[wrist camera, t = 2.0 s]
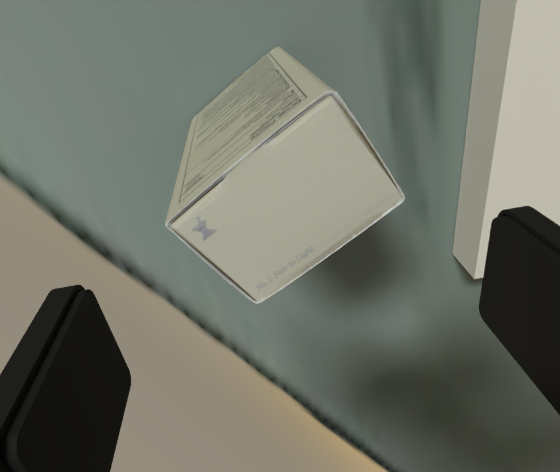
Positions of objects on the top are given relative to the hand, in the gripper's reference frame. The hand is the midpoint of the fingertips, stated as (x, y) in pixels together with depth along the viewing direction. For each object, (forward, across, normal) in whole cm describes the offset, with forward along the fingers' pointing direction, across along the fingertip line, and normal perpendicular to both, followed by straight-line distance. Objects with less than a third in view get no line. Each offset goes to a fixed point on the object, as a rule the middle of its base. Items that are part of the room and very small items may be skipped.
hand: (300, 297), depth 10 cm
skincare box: (+15, 0, -1) cm, 15 cm away
